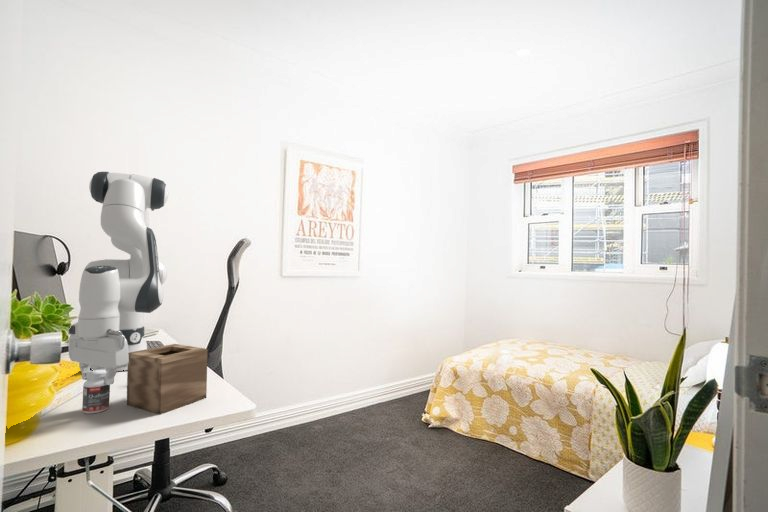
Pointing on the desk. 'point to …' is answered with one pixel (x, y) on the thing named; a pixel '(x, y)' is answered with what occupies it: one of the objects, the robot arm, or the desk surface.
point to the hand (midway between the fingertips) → (97, 381)
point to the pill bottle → (95, 392)
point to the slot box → (166, 377)
